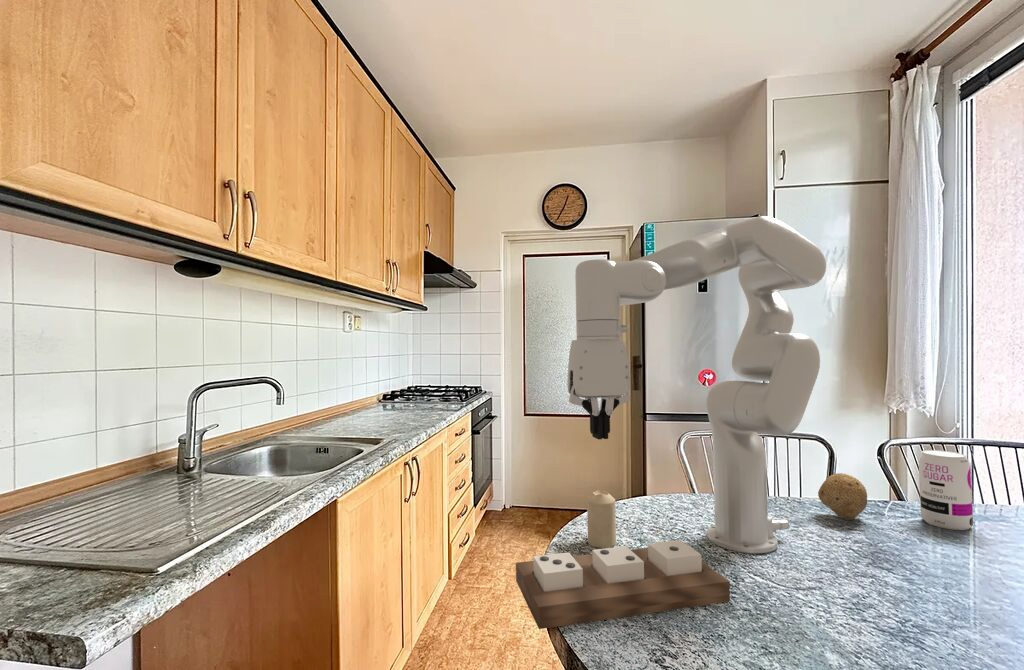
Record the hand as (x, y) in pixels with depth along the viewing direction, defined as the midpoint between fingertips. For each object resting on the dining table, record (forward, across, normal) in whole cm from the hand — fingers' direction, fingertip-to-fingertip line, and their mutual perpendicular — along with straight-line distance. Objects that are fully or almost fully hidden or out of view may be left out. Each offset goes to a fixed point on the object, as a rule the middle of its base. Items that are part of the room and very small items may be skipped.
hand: (600, 437), depth 82 cm
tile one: (+21, -10, +6) cm, 24 cm away
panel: (+23, 0, +6) cm, 24 cm away
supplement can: (+23, -80, -3) cm, 83 cm away
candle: (+23, -5, -12) cm, 27 cm away
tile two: (+21, 0, +6) cm, 21 cm away
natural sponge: (+23, -62, -11) cm, 67 cm away
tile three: (+21, +10, +6) cm, 24 cm away
